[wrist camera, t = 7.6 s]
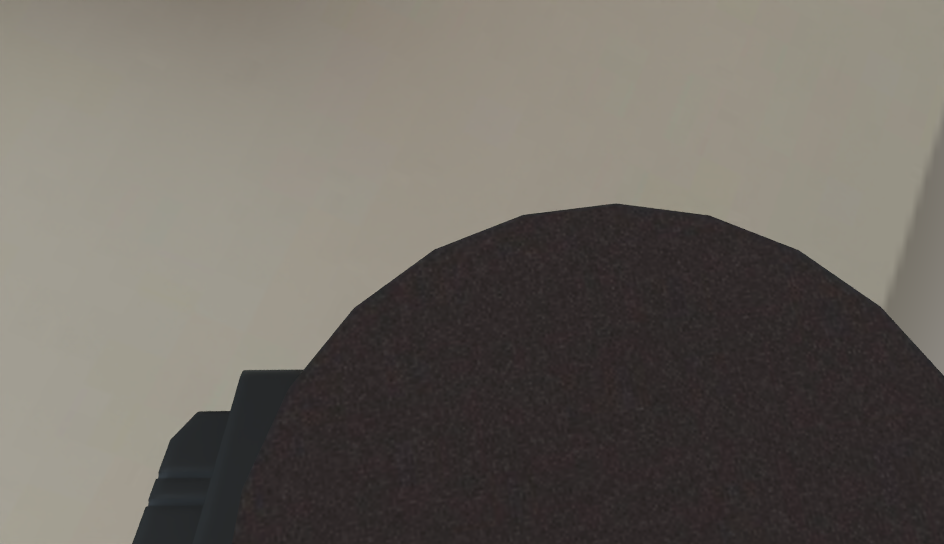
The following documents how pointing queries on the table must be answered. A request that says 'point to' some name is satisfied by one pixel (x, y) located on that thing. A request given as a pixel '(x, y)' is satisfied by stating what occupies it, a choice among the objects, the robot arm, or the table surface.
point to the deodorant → (607, 399)
